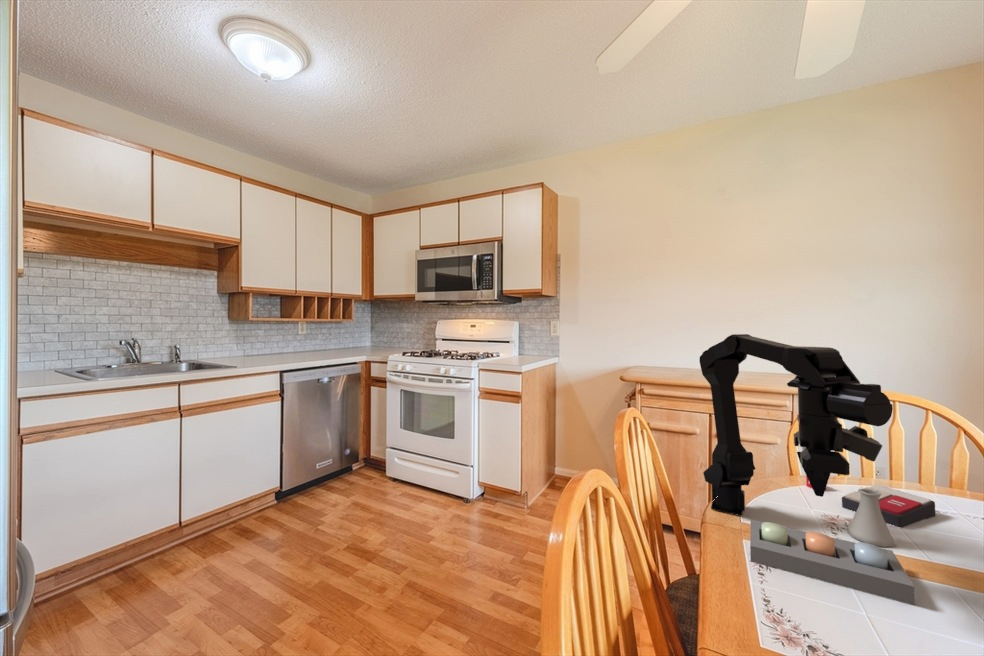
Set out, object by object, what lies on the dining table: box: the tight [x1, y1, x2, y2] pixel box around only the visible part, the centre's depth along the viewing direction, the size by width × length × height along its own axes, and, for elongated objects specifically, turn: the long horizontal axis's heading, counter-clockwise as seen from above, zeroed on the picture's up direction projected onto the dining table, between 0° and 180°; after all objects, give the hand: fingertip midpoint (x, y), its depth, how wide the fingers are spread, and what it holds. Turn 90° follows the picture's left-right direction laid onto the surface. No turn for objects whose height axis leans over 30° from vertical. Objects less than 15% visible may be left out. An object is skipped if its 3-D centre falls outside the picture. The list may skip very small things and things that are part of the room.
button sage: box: [762, 521, 788, 546], centre depth 77 cm, size 4×4×3 cm
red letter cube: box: [805, 476, 827, 491], centre depth 108 cm, size 3×3×3 cm
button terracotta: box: [806, 531, 835, 558], centre depth 73 cm, size 4×4×3 cm
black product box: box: [841, 484, 936, 529], centre depth 94 cm, size 11×4×15 cm
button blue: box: [855, 541, 888, 570], centre depth 69 cm, size 4×4×3 cm
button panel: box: [749, 519, 916, 606], centre depth 73 cm, size 22×12×3 cm, turn 56°
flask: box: [846, 488, 897, 548], centre depth 82 cm, size 7×7×10 cm
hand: (819, 495), depth 73 cm, fingers closed
